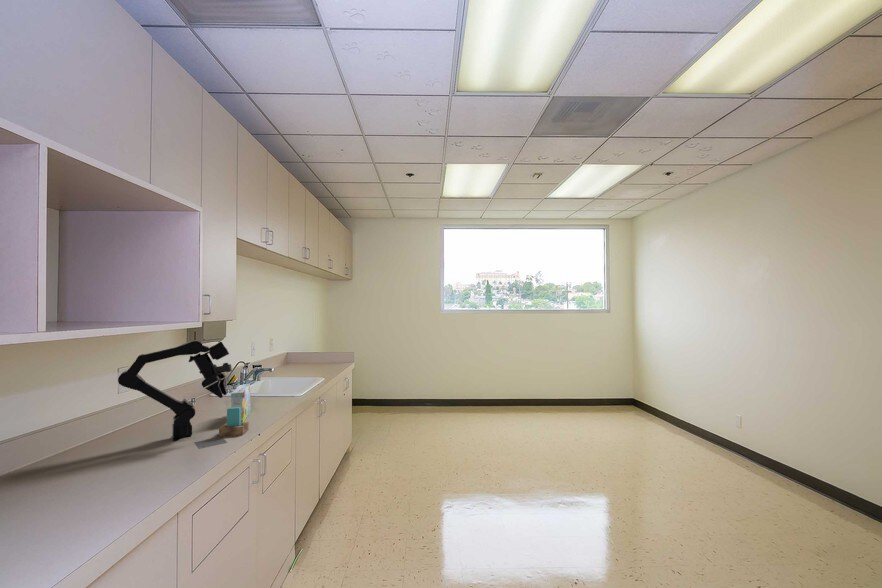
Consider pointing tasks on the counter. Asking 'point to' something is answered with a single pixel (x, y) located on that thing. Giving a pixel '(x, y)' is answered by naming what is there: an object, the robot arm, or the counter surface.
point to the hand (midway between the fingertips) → (223, 396)
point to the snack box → (242, 400)
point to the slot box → (234, 430)
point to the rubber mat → (210, 442)
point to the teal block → (233, 416)
